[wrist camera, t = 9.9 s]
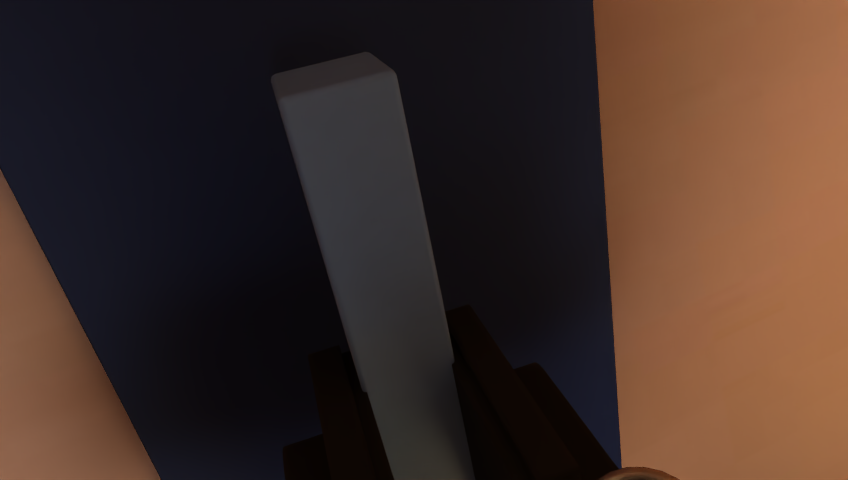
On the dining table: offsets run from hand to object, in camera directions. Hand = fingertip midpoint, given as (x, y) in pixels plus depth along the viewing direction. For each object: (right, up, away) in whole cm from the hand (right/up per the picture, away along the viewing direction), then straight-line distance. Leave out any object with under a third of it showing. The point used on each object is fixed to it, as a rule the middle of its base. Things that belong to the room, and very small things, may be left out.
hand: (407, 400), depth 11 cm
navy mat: (0, 0, +3) cm, 3 cm away
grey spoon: (0, -1, +1) cm, 1 cm away
